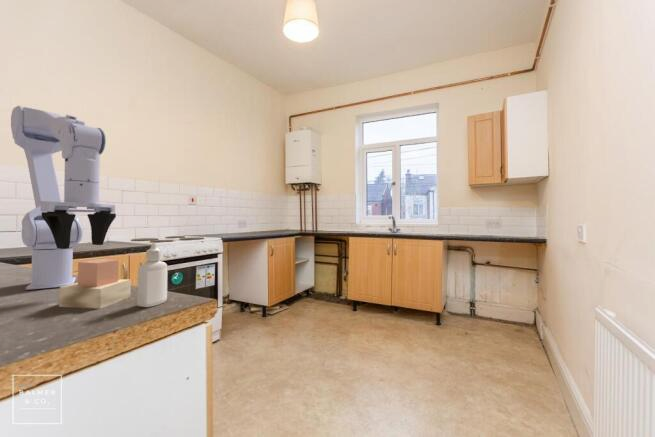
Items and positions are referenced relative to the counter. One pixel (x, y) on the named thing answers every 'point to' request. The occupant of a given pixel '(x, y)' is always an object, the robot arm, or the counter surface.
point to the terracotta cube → (97, 272)
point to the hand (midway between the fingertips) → (81, 246)
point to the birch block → (94, 294)
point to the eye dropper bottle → (152, 279)
